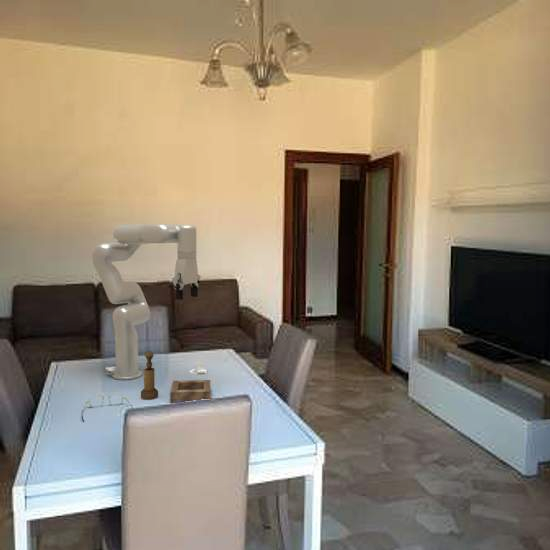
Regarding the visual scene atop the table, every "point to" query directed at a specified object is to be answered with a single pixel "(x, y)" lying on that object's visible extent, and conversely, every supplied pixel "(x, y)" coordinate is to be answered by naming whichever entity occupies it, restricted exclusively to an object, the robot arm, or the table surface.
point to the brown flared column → (149, 380)
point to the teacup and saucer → (198, 369)
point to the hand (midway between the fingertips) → (187, 298)
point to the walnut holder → (189, 390)
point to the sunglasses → (103, 399)
